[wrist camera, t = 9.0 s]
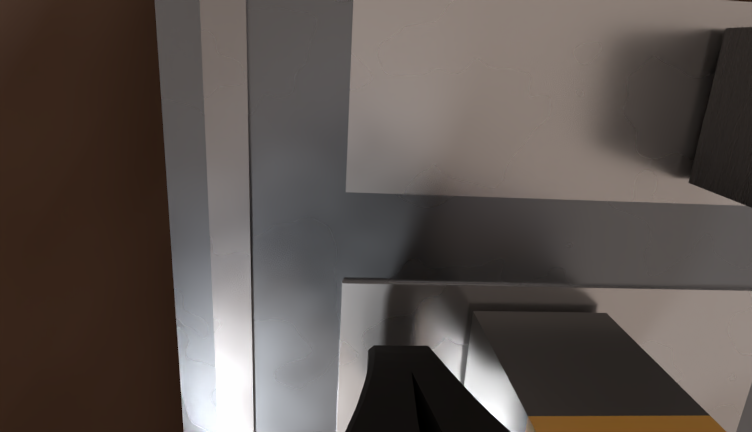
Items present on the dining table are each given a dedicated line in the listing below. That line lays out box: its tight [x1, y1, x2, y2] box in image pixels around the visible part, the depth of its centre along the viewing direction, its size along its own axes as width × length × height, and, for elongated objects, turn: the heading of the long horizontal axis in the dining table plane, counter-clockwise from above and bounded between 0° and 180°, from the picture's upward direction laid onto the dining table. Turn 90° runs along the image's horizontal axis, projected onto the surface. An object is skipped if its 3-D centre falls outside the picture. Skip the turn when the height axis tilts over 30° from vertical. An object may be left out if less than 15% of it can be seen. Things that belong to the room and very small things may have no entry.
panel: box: [155, 0, 752, 432], centre depth 11 cm, size 17×16×6 cm
